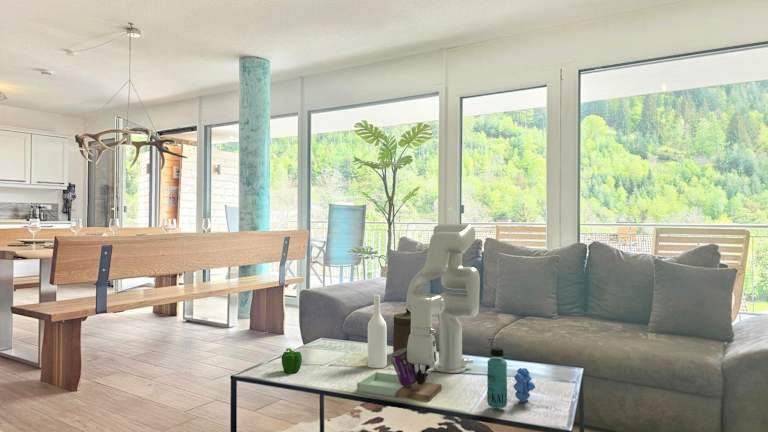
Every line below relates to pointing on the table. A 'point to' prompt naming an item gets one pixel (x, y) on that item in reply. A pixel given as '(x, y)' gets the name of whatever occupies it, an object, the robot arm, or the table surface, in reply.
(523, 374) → the grapes
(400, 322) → the wooden container
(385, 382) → the tray
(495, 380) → the beverage bottle
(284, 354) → the bell pepper
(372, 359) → the bottle
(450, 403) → the table surface
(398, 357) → the beverage can
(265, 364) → the table surface
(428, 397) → the board
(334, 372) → the table surface
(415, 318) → the robot arm
